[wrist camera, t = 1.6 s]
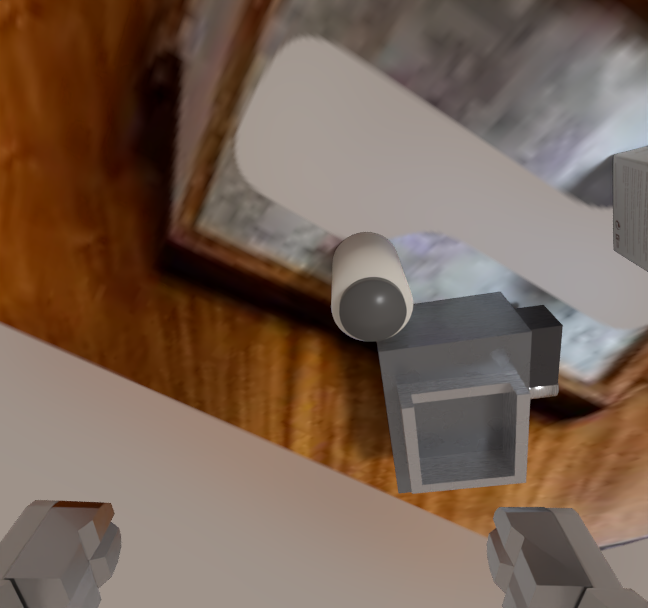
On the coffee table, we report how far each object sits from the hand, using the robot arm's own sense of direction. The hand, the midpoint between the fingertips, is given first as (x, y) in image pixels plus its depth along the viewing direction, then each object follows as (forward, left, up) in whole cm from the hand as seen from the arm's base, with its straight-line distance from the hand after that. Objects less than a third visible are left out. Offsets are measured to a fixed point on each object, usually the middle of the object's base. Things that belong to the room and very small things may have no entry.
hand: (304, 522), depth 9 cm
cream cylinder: (-2, +4, -24) cm, 25 cm away
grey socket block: (-9, +15, -24) cm, 30 cm away
